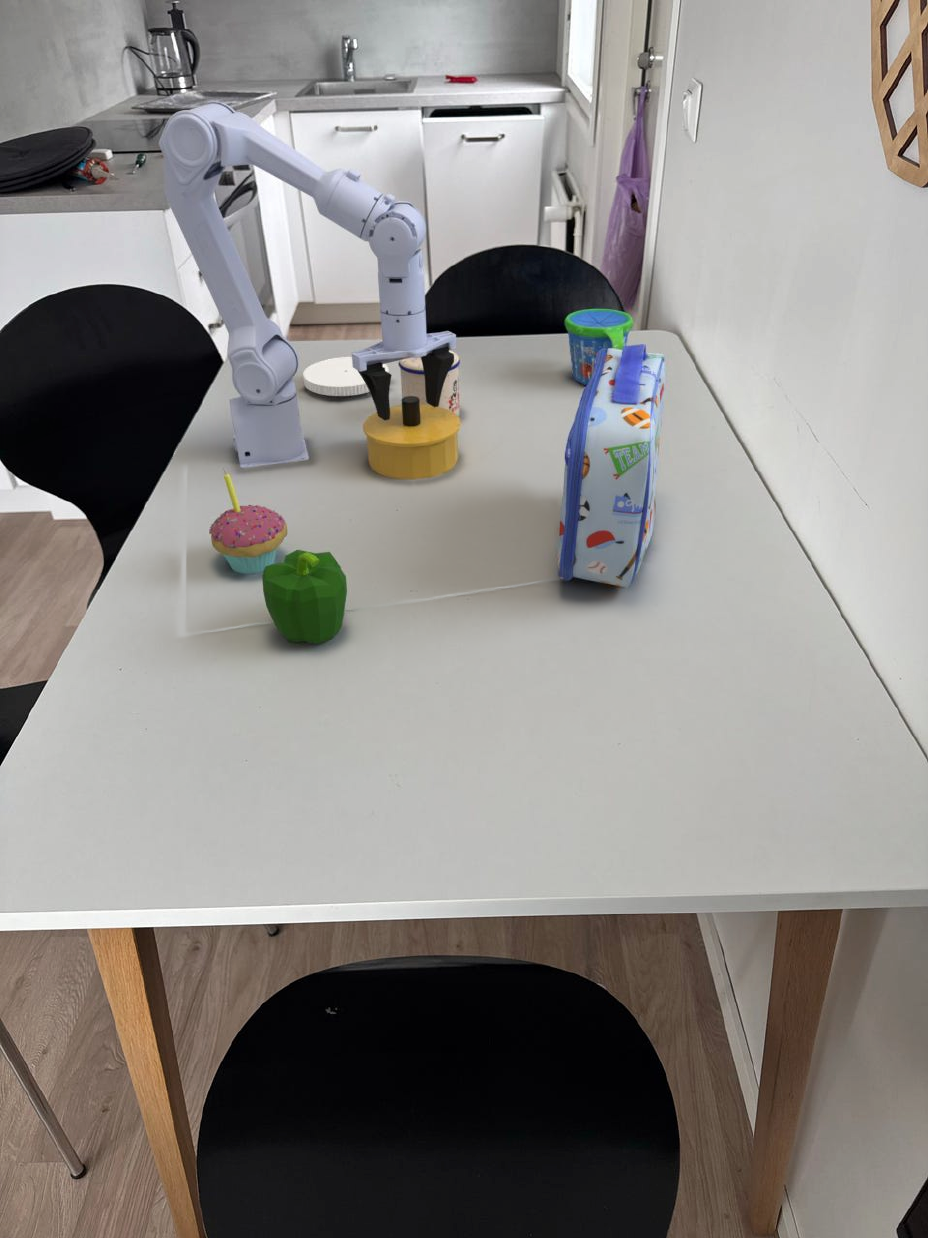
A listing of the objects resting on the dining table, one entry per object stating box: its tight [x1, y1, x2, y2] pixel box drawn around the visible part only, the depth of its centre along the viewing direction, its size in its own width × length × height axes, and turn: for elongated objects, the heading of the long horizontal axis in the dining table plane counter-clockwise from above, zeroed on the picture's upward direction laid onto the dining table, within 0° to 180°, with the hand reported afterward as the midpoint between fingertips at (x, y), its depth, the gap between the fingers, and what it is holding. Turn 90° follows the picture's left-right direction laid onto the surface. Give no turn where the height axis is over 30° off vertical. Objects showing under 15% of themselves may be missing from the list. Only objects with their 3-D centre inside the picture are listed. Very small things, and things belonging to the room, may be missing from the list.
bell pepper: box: [261, 549, 348, 645], centre depth 96 cm, size 8×8×10 cm
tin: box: [365, 431, 459, 480], centre depth 130 cm, size 12×12×5 cm
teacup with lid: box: [398, 350, 461, 417], centre depth 143 cm, size 12×9×12 cm
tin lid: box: [362, 396, 462, 447], centre depth 127 cm, size 13×13×4 cm
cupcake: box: [208, 467, 288, 575], centre depth 106 cm, size 9×8×12 cm
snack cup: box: [564, 308, 634, 386], centre depth 153 cm, size 16×10×10 cm
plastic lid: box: [302, 356, 390, 397], centre depth 156 cm, size 14×14×2 cm
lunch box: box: [557, 343, 666, 589], centre depth 106 cm, size 28×10×22 cm, turn 168°
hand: (408, 411), depth 127 cm, fingers open, 7 cm apart
